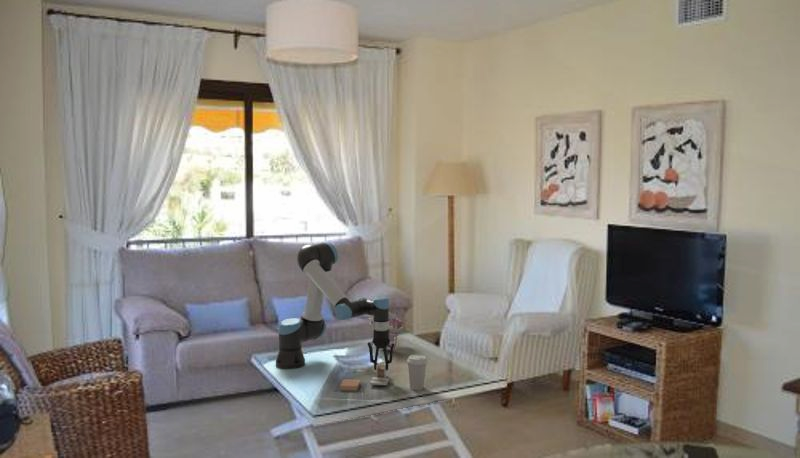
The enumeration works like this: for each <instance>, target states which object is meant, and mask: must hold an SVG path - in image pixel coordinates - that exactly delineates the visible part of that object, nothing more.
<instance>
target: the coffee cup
mask: <svg viewBox="0 0 800 458" xmlns="http://www.w3.org/2000/svg"><path fill="white" fill-rule="evenodd" d="M406 362H407V365H408V366H407V367H408V378H409V379H408V380H409V390H411V391H423V390H424V388H425V377H426V368H427V363H428V359H427V358H426V356H425V355H423V354H422V355H421V354H412V355H409V356H408V358H407V360H406ZM422 389H423V390H422Z"/></svg>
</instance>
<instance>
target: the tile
mask: <svg viewBox="0 0 800 458" xmlns="http://www.w3.org/2000/svg"><path fill="white" fill-rule="evenodd" d="M341 382H342V383H341V385H340V390H348V391H357V390H358V388H359V386H360V383H361V380H360V379H354V378H353V379H350V378H349V379H346V378H344V379H342V381H341Z"/></svg>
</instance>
